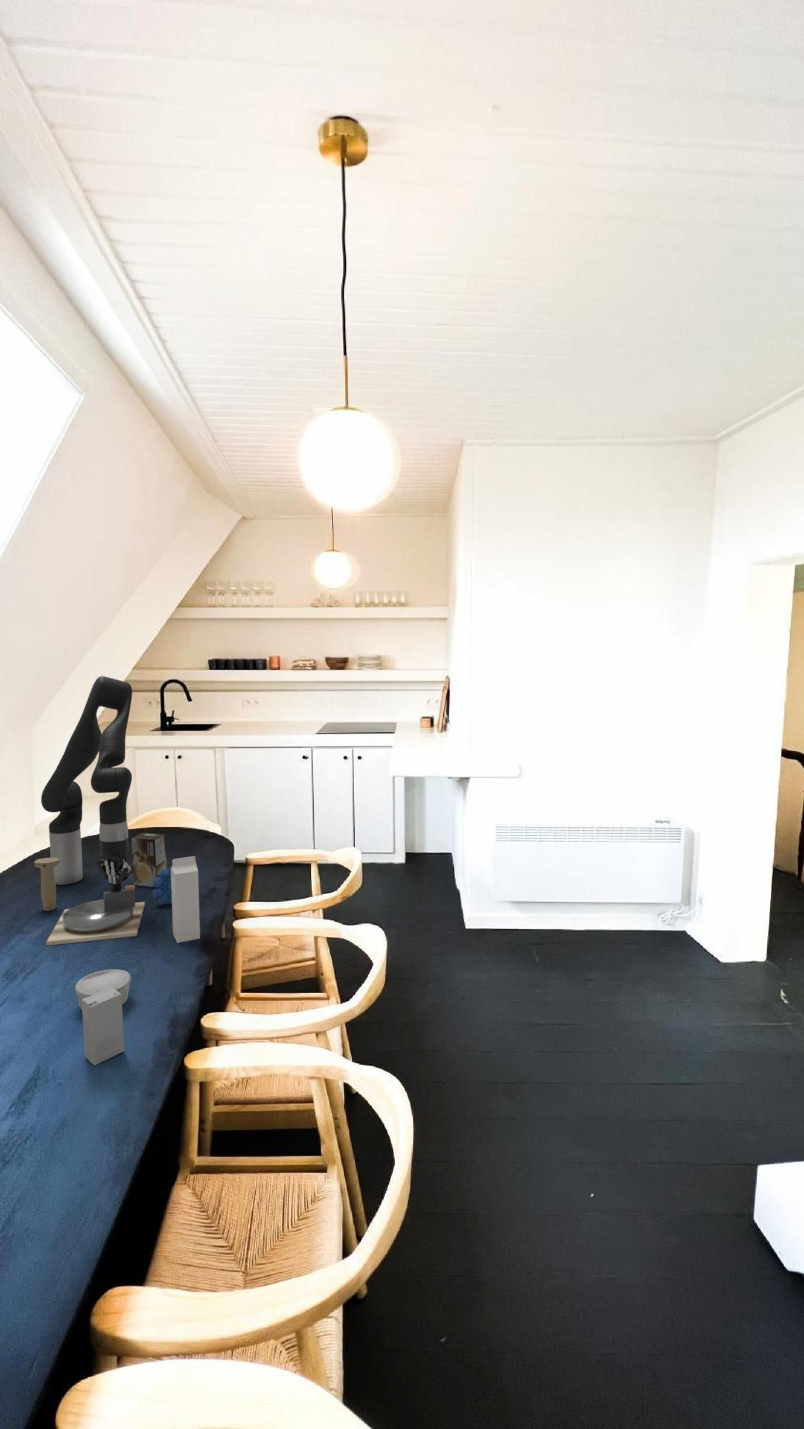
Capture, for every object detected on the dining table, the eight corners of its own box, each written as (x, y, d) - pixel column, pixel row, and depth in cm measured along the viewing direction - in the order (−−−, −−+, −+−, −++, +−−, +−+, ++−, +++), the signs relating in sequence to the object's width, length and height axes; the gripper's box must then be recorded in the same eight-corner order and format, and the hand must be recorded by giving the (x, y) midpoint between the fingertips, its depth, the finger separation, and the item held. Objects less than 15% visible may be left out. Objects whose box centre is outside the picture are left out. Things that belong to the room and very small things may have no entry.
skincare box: (114, 1043, 130) (112, 985, 129) (125, 1052, 127) (123, 993, 126) (83, 1058, 125) (80, 998, 124) (93, 1067, 122) (90, 1006, 121)
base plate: (65, 912, 193) (64, 908, 193) (144, 904, 199) (144, 901, 199) (46, 945, 172) (46, 941, 172) (136, 935, 178) (136, 931, 178)
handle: (58, 911, 194) (55, 862, 192) (34, 913, 192) (32, 863, 191) (63, 905, 198) (61, 857, 197) (40, 906, 197) (37, 858, 195)
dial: (132, 902, 198) (131, 875, 197) (139, 924, 182) (138, 896, 181) (63, 913, 189) (61, 886, 188) (63, 938, 173) (62, 908, 172)
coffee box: (168, 881, 219) (167, 834, 217) (157, 887, 213) (155, 839, 211) (144, 878, 221) (142, 832, 220) (132, 885, 215) (130, 837, 213)
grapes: (191, 895, 206) (190, 858, 205) (193, 903, 200) (192, 865, 199) (152, 901, 202) (150, 863, 201) (152, 909, 196) (151, 870, 194)
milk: (200, 938, 176) (198, 859, 174) (176, 943, 173) (174, 862, 171) (195, 930, 182) (193, 852, 179) (172, 934, 179) (170, 856, 176)
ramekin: (116, 985, 152) (115, 963, 152) (141, 1001, 145) (140, 979, 145) (66, 1005, 144) (65, 982, 143) (91, 1024, 137) (89, 1000, 136)
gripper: (87, 836, 187) (89, 894, 189) (118, 843, 181) (120, 903, 183) (109, 829, 194) (111, 886, 196) (140, 836, 188) (142, 894, 190)
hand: (116, 894), depth 190 cm, fingers closed
